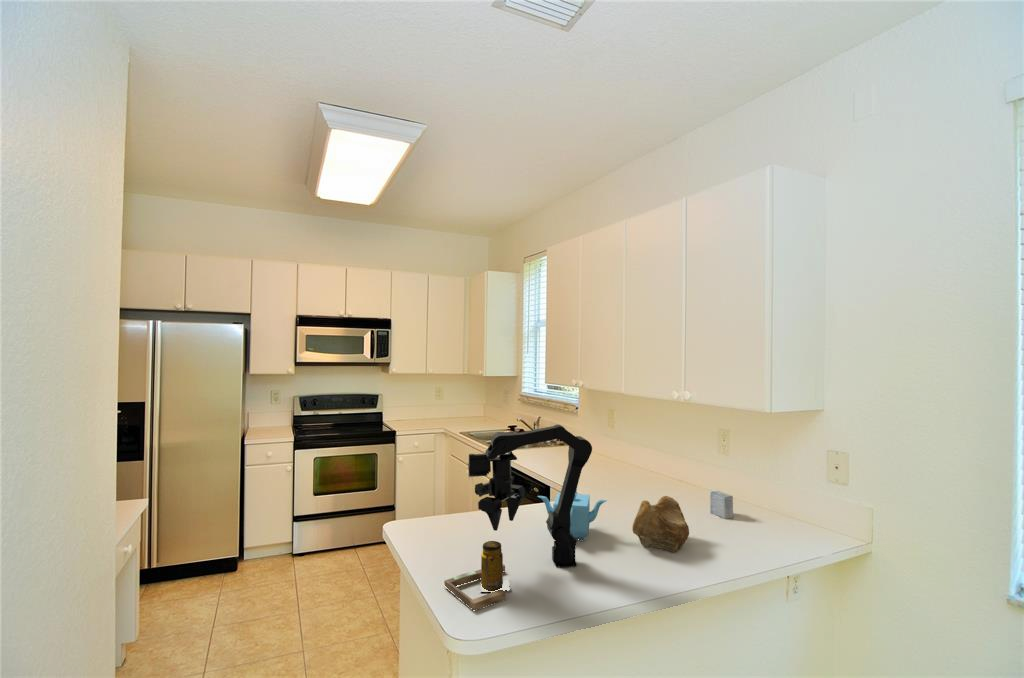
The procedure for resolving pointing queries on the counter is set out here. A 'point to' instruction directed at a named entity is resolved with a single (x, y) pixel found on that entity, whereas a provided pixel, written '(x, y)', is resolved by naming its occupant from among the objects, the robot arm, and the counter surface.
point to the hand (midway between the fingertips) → (503, 525)
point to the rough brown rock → (661, 525)
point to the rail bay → (472, 603)
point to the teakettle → (578, 513)
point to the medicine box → (721, 504)
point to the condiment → (492, 566)
